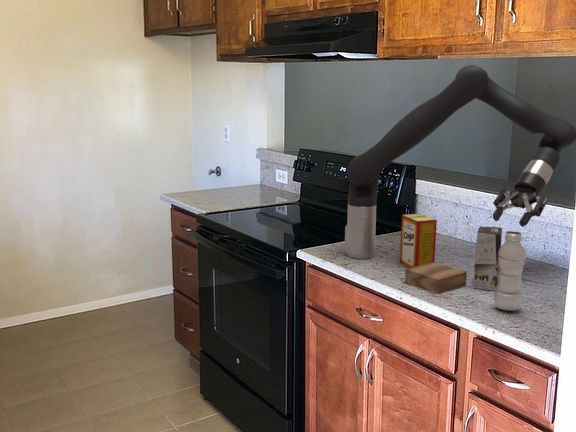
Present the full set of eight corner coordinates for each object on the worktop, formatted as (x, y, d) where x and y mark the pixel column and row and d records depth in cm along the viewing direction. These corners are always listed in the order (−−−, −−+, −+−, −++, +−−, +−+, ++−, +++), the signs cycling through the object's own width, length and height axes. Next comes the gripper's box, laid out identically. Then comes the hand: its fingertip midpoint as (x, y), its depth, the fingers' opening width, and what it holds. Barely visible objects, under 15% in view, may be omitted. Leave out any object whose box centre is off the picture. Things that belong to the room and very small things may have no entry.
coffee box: (496, 291, 170) (501, 234, 167) (472, 288, 172) (476, 232, 169) (498, 281, 178) (503, 227, 175) (475, 279, 181) (479, 225, 177)
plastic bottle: (498, 302, 161) (504, 228, 157) (524, 309, 157) (531, 232, 153) (489, 309, 156) (495, 233, 152) (515, 316, 152) (522, 237, 148)
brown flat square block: (405, 282, 177) (405, 269, 176) (432, 274, 184) (433, 262, 183) (438, 293, 168) (438, 279, 167) (465, 285, 175) (466, 271, 174)
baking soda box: (434, 269, 190) (436, 218, 186) (415, 271, 188) (417, 220, 184) (417, 261, 198) (420, 212, 195) (399, 262, 196) (401, 213, 193)
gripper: (508, 167, 184) (481, 210, 180) (552, 173, 173) (525, 218, 169) (517, 183, 189) (491, 225, 184) (561, 190, 178) (534, 234, 173)
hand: (507, 222), depth 177 cm, fingers open, 8 cm apart
